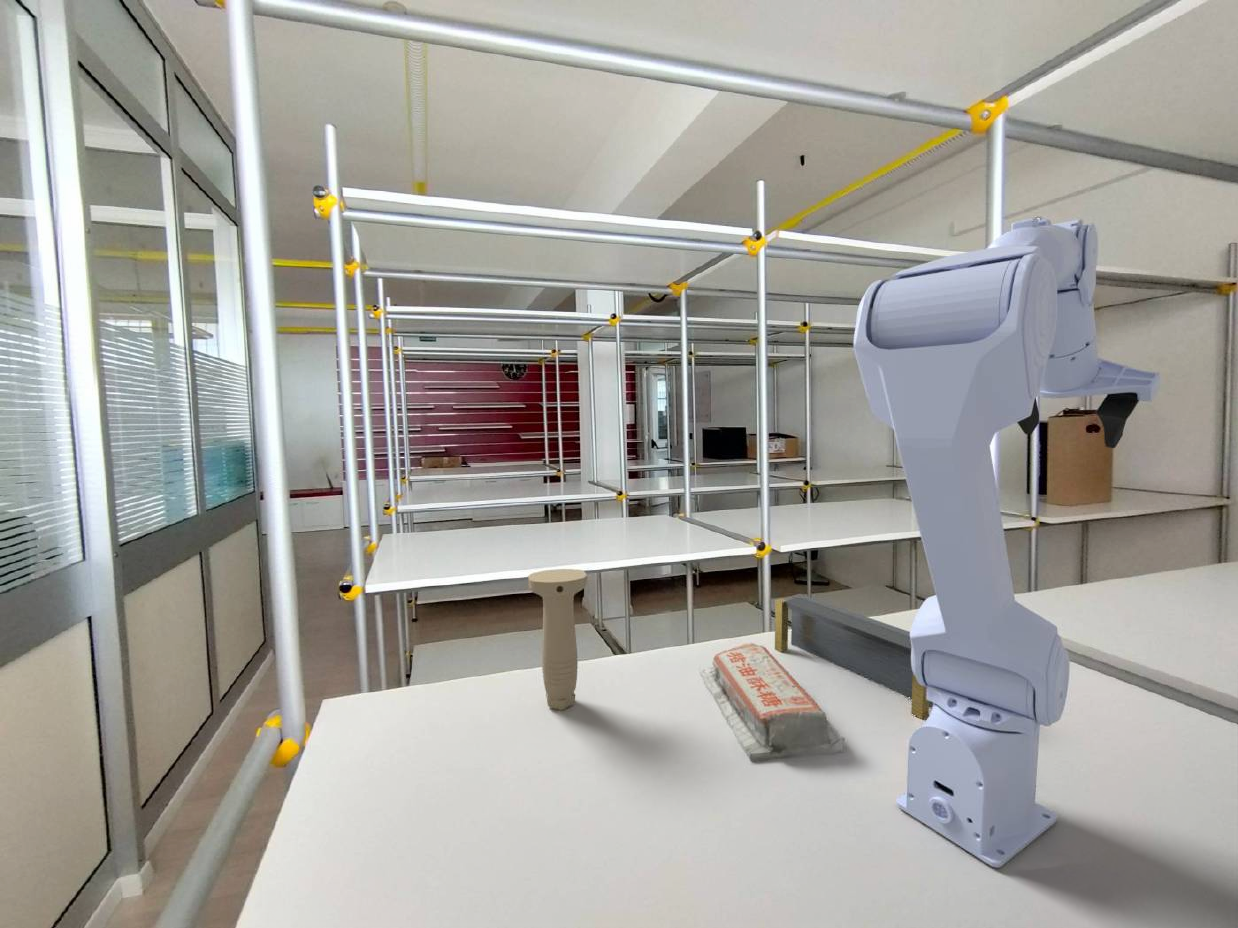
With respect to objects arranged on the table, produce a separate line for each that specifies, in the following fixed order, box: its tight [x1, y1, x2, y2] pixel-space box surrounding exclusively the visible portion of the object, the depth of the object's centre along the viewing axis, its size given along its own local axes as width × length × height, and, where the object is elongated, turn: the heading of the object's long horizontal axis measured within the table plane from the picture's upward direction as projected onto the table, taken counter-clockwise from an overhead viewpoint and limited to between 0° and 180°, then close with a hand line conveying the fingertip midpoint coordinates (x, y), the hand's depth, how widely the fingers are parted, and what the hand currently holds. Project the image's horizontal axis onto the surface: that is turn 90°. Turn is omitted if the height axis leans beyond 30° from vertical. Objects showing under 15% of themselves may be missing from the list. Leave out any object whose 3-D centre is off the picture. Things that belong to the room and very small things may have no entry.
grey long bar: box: [774, 593, 933, 720], centre depth 70 cm, size 5×21×7 cm, turn 31°
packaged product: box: [699, 642, 845, 762], centre depth 63 cm, size 18×5×10 cm
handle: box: [527, 568, 588, 711], centre depth 64 cm, size 5×6×15 cm
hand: (1071, 434), depth 63 cm, fingers open, 7 cm apart
